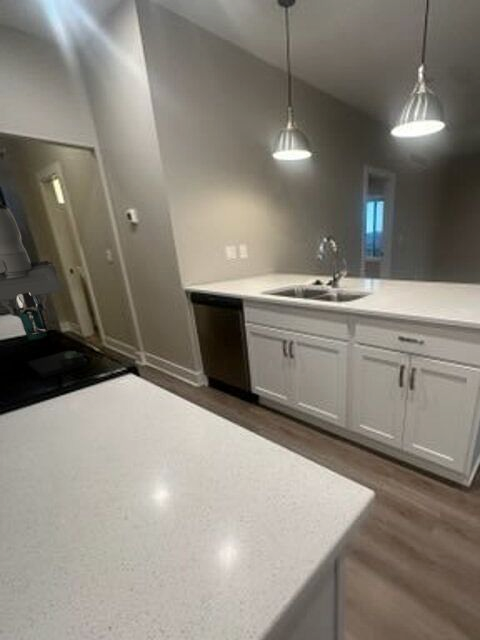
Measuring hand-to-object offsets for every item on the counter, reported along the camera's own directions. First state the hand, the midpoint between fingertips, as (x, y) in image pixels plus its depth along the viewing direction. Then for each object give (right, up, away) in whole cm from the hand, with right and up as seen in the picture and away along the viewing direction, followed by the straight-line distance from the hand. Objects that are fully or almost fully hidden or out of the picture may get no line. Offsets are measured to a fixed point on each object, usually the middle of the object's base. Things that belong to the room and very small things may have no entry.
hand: (29, 312), depth 102 cm
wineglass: (0, -6, +3) cm, 6 cm away
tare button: (+10, -13, +4) cm, 17 cm away
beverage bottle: (-21, -7, +32) cm, 39 cm away
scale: (+5, -16, +6) cm, 17 cm away
